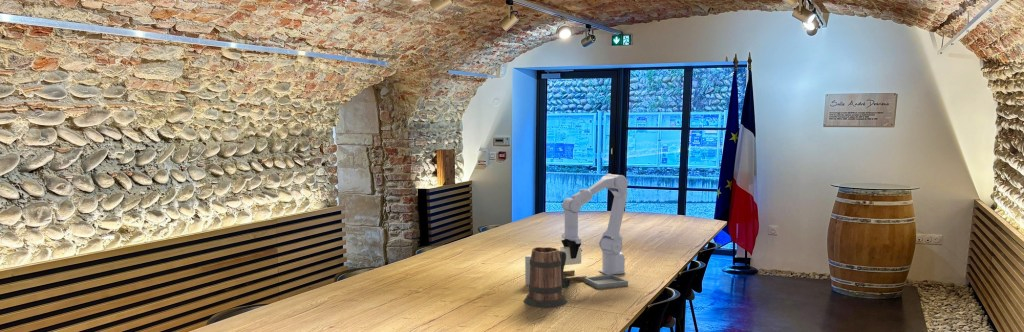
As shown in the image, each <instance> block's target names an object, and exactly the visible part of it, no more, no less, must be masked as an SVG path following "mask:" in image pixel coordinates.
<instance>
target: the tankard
mask: <svg viewBox="0 0 1024 332" xmlns="http://www.w3.org/2000/svg"><path fill="white" fill-rule="evenodd" d="M530 255H531V259H530V282H529V285H528V294H527V295H525V298H524V299H523V301H522V302H523V303H524V304H525V305H526V306H528V307H533V308H539V309H553V308H560V307H564V306H566V305H567V304H568V303H569V301H568V300H567V298H566V297H565V295H564V294H563V289H565V290H568V289H569V288H570V286H571V284H572V283H571V280H570V277H568V276H563V271H565V270H564V269H565V267H566V265H565V262H566V253H565V252H563V251H560V250H559V249H558V248H555V247H547V246H546V247H540V246H536V247H533V248H532V249H531V254H530Z"/></svg>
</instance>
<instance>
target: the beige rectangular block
mask: <svg viewBox="0 0 1024 332" xmlns="http://www.w3.org/2000/svg"><path fill="white" fill-rule="evenodd" d="M559 248H560V250H559V251H563V252H565V253H566V262H565V266H569V265H570V266H571V265H572V266H573V265H580V264H582V252H583V249H582V247H581V246H580V247H579V249H578V253H577V257H576V258H574V259H571V255H570V248H569V247H564V246H561V247H559Z"/></svg>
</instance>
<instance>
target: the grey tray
mask: <svg viewBox="0 0 1024 332" xmlns="http://www.w3.org/2000/svg"><path fill="white" fill-rule="evenodd" d="M583 282H584V284H586V285H589V286H591V287H593V288H595V289H596V290H605V288H606V289H611V288H621V287H622V286H623V287H629V281H628V280H626V279H624V278H622V277H620V276H617V275H616V274H611V275H606V274H604V275H596V276H595V275H594V276H587V277H585V278H584V281H583Z"/></svg>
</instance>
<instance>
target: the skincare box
mask: <svg viewBox="0 0 1024 332" xmlns="http://www.w3.org/2000/svg"><path fill="white" fill-rule="evenodd" d="M524 258H525V259H524V263H525V265H524V269H525V270H524V272H525V273H524V274H525V277H524V278H525V279H524V280H525V286H529V282H530V259H531V254H527V255H525V256H524Z"/></svg>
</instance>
